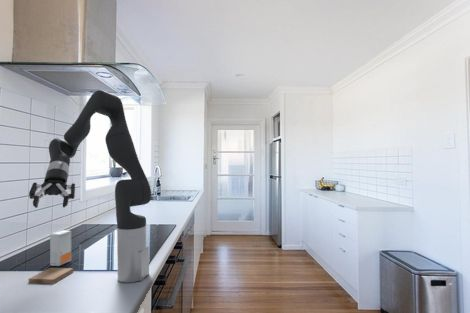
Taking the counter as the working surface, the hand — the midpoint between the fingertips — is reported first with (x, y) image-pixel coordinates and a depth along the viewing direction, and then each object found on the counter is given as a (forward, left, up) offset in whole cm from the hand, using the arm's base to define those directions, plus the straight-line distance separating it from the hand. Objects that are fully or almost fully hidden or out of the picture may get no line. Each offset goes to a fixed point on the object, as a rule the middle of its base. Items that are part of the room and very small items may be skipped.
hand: (50, 206), depth 100 cm
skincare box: (+2, -7, -24) cm, 25 cm away
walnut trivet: (-4, +5, -23) cm, 24 cm away
